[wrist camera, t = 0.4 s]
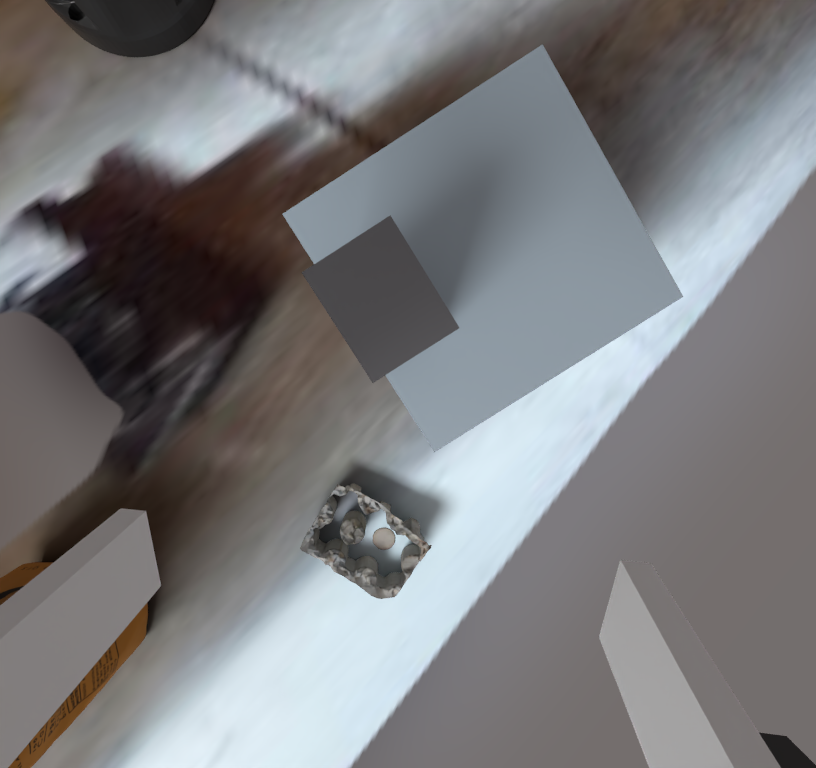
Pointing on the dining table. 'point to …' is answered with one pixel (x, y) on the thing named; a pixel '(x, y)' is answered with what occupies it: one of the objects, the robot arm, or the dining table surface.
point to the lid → (482, 251)
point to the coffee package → (90, 683)
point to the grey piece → (353, 533)
